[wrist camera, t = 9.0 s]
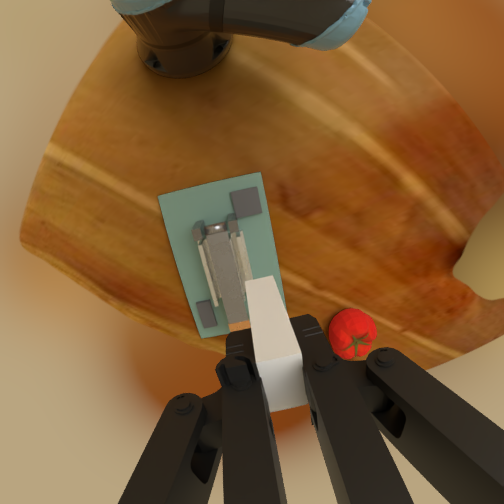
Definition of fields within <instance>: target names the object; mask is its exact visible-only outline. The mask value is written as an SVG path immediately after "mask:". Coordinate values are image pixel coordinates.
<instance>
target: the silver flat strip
mask: <svg viewBox="0 0 504 504" xmlns="http://www.w3.org/2000/svg"><path fill="white" fill-rule="evenodd" d="M204 232H205V235H206V239H207V243H208V247H209V251H210V255H211V259H212V263H213V266H214V270H215V274H216V278H217V282H218V286H219V289H220V293H221V297H222V301H223V304H224V308H225V311H226V315H227V319H228V325H229V329H230V332H233V331H238V330H243V329H248V328H251V325H250V321H249V318H248V316H247V312H246V307H245V303H244V299H243V295H242V291H241V287H240V283H239V278H238V274H237V270H236V266H235V261H234V257H233V253H232V249H231V244H230V240H229V236H228V231H227V226H226V222H225V221H224V222H219V223H215V224H211V225H206V226H204Z"/></svg>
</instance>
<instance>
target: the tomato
mask: <svg viewBox="0 0 504 504" xmlns="http://www.w3.org/2000/svg"><path fill="white" fill-rule="evenodd" d="M376 337H377V330H376V326H375V323H374V321H373V319H372V318H371V317H370V316H369V315H367V314H365V313H363V312H362V311H361V310H359V309H352V308H350V309H345V310H343V311H341V312H339V313H338V314H337V315H336V316H334V317H333V319H332V321H331V323H330V326H329V340H330V342H331V346H332V349H333V350H334V352H335V353H336V354H337V355H339V356H340V357H341V358H345V359H351V358H353V357H354V356H355V357H356V356H360V357H361V356H363V355H365V354H367V352H368V351H369V350H370V349H371V345H372V340H374V339H375V338H376Z"/></svg>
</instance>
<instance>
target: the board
mask: <svg viewBox="0 0 504 504" xmlns="http://www.w3.org/2000/svg"><path fill="white" fill-rule="evenodd" d="M158 199H159V203H160V207H161V211H162V215H163V219H164V222H165V226H166V230H167V233H168V237H169V240H170V244H171V247H172V251H173V254H174V257H175V261H176V264H177V267H178V271H179V274H180V277H181V280H182V283H183V286H184V290H185V293H186V296H187V299H188V302H189V305H190V308H191V311H192V314H193V316H194V319H195V322H196V325H197V328H198V331H199V333H200V336H201V338H207V337H212V336H218V335H223V334H228V333H230V329H229V325H228V319H227V315H226V311H225V308H224V304H223V301H222V297H221V298H219V306H216V307H215V305H214V301H213V298H212V295H211V291H210V288H209V284H208V281H207V277H206V274H205V270H204V267H203V263H202V259H201V256H200V252H199V248H198V242H197V241H194V239H193V235H192V231H191V230H192V228H193V226H194V224H195V222H196V221H199V220H203V219H204V223H205V226H206V225H211V224H215V223H219V222H224V221H225V222H226V226H227V231H228V232H230V229H229V225H228V214H230V213H234V212H235V213H236V216H237V220H238V226H239V230H241V229H242V231H243V235H244V240H245V245H246V249H247V254H248V258H249V263H250V267H251V272H252V276H253V280H254V279H258V278H263V277H267V276H272V275H273V277H274V280H275V282H276V285H277V288H278V291H279V293H280V296H281V299H282V301H283V304H284V307H285V309H286V304H285V298H284V293H283V287H282V281H281V276H280V270H279V265H278V259H277V254H276V248H275V243H274V238H273V232H272V227H271V222H270V217H269V211H268V206H267V201H266V196H265V191H264V186H263V181H262V176H261V172H256V173H251V174H247V175H242V176H237V177H232V178H228V179H223V180H219V181H215V182H210V183H206V184H202V185H198V186H194V187H190V188H186V189H182V190H178V191H174V192H170V193H167V194H163V195H159V196H158ZM205 237H206V235H205V234H204V237H203V238H205ZM245 300H246V301H244V303H245V307H246V312H247V316H248V318H249V321H250V316H249V309H248V302H247V294H246V292H245ZM286 312H287V310H286ZM250 325H251V323H250Z"/></svg>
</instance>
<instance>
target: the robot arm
mask: <svg viewBox="0 0 504 504" xmlns="http://www.w3.org/2000/svg"><path fill="white" fill-rule="evenodd" d="M111 3H112V6H113V8H114V9H115V10H116V11H117V12H118V13H119V14H120V15H121V17H122V18H123V19H124V20H125V21H126V22H127V24H128V25H129V26H130V27H131V28H132V30H133V31H134V32H135V33H136V34H137V50H138V53H139V56H140V58H141V59H142V61H143V62H144V63H145V64H146V65H147V67H148V68H149V69H151V70H152V71H153V72H155V73H157V74H159V75H161V76H165V77H169V78H187V77H192V76H196V75H199V74H201V73H204V72H206V71H208V70H210V69H211V68H213V67H214V66H216V65H217V64H218V63H219V62H220V61H221V60H222V59H223V58H224V57H225V55H226V54H227V52H228V51H229V49H230V46H231V43H232V36H233V34H238V35H245V36H252V37H259V38H265V39H270V40H275V41H280V42H285V43H289V44H290V45H292V46H295V47H308V48H312V49H317V50H321V51H327V50H332V49H336V48H338V47H340V46H342V45H343V44H344V43H346V42H347V41H348V40H349V39H350V38H351V37H352V36H353V35H354V34H355V32H356V31H357V30H358V28H359V27H360V25H361V24H362V22H363V21H364V19H365V17H366V15H367V12H368V9H367V7H368V5H369V4H370V3H371V0H111ZM245 287H246V294H247V302H248V309H249V316H250V323H251V328H248V329H243V330H238V331H233V332H230V333H229V335H228V337H227V338H226V357H225V358H224V359H222V360H221V361H220V362H219V363H218V364H217V366H216V369H215V370H216V373H217V376H218V378H219V381H220V383H221V386H222V387H221V388H220V389H219V390H218V391H217V392H215V393H213V394H211V395H208V396H206V397H203V398H200V397H199V396H197V395H196V394H192V393H183V394H180V395H177V396H175V397H174V398H173V399H171V400H170V401H169V402H168V404H167V405H166V407H165V409H164V411H163V413H162V415H161V417H160V419H159V421H158V423H157V425H156V427H155V429H154V431H153V433H152V435H151V437H150V439H149V441H148V443H147V445H146V447H145V450H144V452H143V453H142V455H141V458H140V460H139V462H138V464H137V466H136V468H135V470H134V472H133V474H132V476H131V478H130V480H129V482H128V484H127V486H126V488H125V490H124V492H123V494H122V496H121V498H120V500H119V503H118V504H208V500H209V497H210V494H211V490H212V487H213V483H214V480H215V477H216V473H217V470H218V466H219V463H220V459H221V456H222V454H223V491H224V504H287V499H286V494H285V489H284V483H283V478H282V473H281V467H280V462H279V456H278V451H277V445H276V440H275V434H274V429H273V423H272V420H271V417H270V412H274V411H278V410H283V409H288V408H293V407H297V406H301V405H305V404H308V402H309V405H310V412H311V422H312V425H314V427H315V430H316V433H317V437H318V440H319V443H320V446H321V450H322V453H323V456H324V460H325V463H326V466H327V469H328V473H329V476H330V479H331V483H332V486H333V489H334V493H335V496H336V499H337V503H338V504H414V503H413V501H412V498H411V496H410V494H409V492H408V490H407V488H406V485H405V483H404V481H403V479H402V477H401V475H400V473H399V471H398V468H397V466H396V464H395V462H394V460H393V458H392V456H391V454H390V452H389V450H388V448H387V446H386V444H385V442H384V440H383V437H382V435H381V433H380V431H381V432H382V433H383V435H384V436H385V437H386V438H387V439H388V440H389V441H390V442H391V443H392V444H393V445H394V446H395V447H396V448H397V449H398V450H399V452H400V453H401V454H402V455H403V456H404V457H405V458H406V459H407V460H408V461H409V462H410V463H411V464H412V465H413V466H414V467H415V468H416V469H417V470H418V471H419V472H420V473H421V474H422V475H423V476H424V477H425V478H426V480H427V481H429V482H430V484H432V486H433V487H434V488H435V489H436V490H437V491H438V492H439V493H440V494H441V495H442V496H443V497H444V498H445V499H446V500H447V501H448V502H449V503H450V504H504V430H503V429H501V428H500V427H499V426H497V425H496V424H495V423H493V422H492V421H491V420H490V419H488V418H487V417H486V416H484V415H483V414H482V413H480V412H479V411H478V410H476V409H475V408H474V407H473V406H471V405H470V404H469V403H467V402H466V401H465V400H463V399H462V398H461V397H459V396H458V395H457V394H455V393H454V392H453V391H451V390H450V389H449V388H447V387H446V386H445V385H443V384H442V383H441V382H440V381H438V380H437V379H436V378H434V377H433V376H432V375H430V374H429V373H428V372H426V371H425V370H424V369H422V368H421V367H420V366H418V365H417V364H416V363H414V362H413V361H412V360H410V359H409V358H408V357H406V356H405V355H404V354H402V353H401V352H400V351H398V350H396V349H394V348H388V347H385V348H379V349H376V350H373V351H372V352H371V353H370V354H369V355H368V357H367V359H366V360H363V361H347V360H343V359H342V358H341V357H340V356H339V355H337V354H335V353H334V352H333V350H332V348H331V346H330V344H329V343H328V341H327V339H326V337H325V335H324V333H323V331H322V329H321V327H320V325H319V323H318V321H317V320H316V318H314V317H313V316H311V315H309V314H306V315H302V316H298V317H294V318H289V317H288V315H287V312H286V309H285V307H284V304H283V301H282V299H281V296H280V293H279V291H278V288H277V285H276V282H275V280H274V277H273V275H272V276H267V277H263V278H258V279H254V280H249V281H245ZM379 430H380V431H379Z"/></svg>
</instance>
